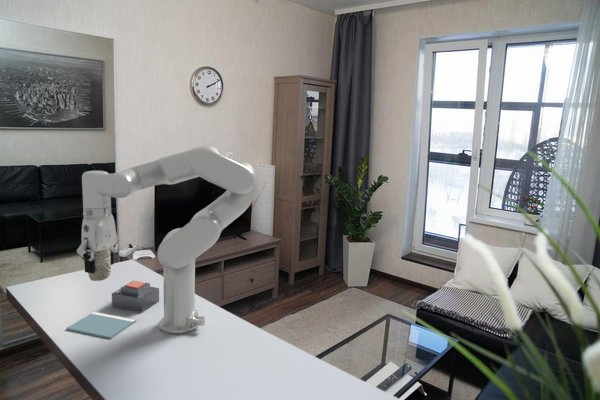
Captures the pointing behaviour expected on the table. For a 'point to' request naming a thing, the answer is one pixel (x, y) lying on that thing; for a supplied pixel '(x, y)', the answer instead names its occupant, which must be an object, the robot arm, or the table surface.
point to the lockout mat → (101, 325)
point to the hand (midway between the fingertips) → (99, 267)
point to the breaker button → (135, 285)
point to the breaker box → (135, 298)
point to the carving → (101, 264)
